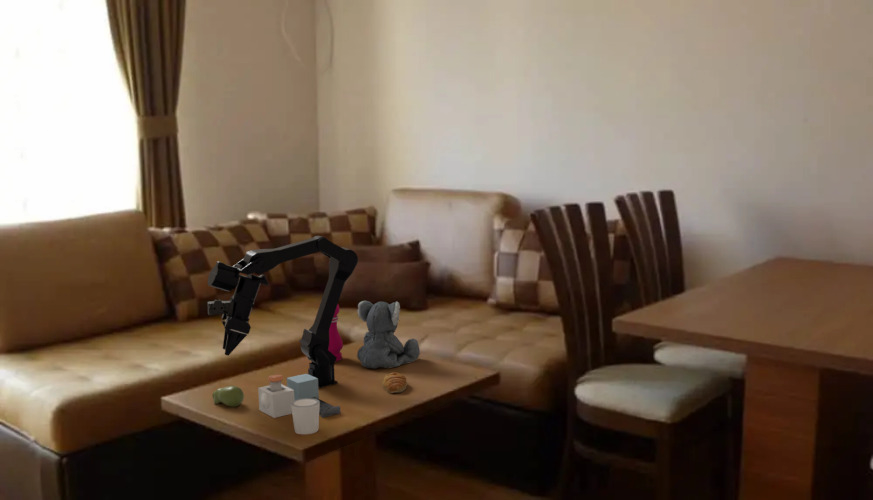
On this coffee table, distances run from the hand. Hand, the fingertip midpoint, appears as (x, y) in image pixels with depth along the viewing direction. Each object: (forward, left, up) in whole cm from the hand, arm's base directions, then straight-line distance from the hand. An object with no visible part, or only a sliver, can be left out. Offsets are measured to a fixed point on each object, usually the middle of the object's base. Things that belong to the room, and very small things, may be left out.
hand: (225, 352), depth 237 cm
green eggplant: (+1, +3, -14) cm, 14 cm away
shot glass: (-5, +34, -13) cm, 37 cm away
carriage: (-15, +15, -13) cm, 24 cm away
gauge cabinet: (-6, +17, -13) cm, 22 cm away
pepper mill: (-42, -16, -13) cm, 46 cm away
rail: (-15, +19, -13) cm, 27 cm away
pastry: (-40, +21, -14) cm, 47 cm away
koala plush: (-52, -2, -13) cm, 53 cm away
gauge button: (-6, +17, -10) cm, 20 cm away
